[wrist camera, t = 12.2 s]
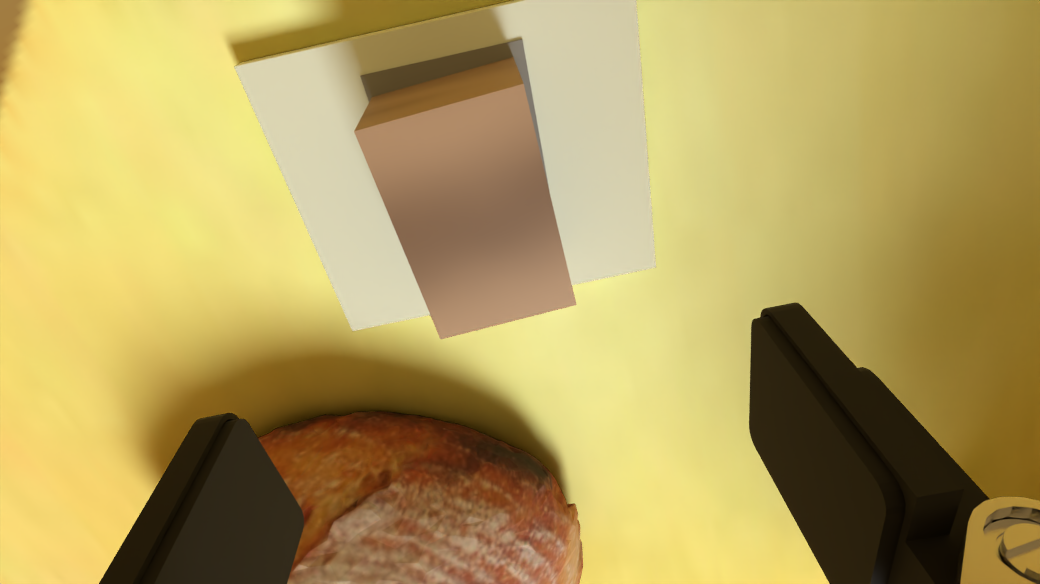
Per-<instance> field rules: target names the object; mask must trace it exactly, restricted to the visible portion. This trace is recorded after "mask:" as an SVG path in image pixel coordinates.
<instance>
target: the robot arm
mask: <svg viewBox="0 0 1040 584" xmlns="http://www.w3.org/2000/svg"><path fill="white" fill-rule="evenodd" d="M749 429H750V435H751V438H752V441H753V444H754V446H755V448H756V450H757V452H758V453H759V455H760V457H761V459H762V461H763V463H764V464H765V466H766V468H767V470H768V472H769V474H770V475H771V477H772V479H773V481H774V483H775V484H776V486H777V488H778V490H779V492H780V494H781V495H782V497H783V499H784V501H785V503H786V505H787V506H788V508H789V510H790V512H791V514H792V516H793V517H794V519H795V521H796V523H797V525H798V526H799V528H800V530H801V532H802V534H803V536H804V537H805V539H806V541H807V543H808V545H809V547H810V548H811V550H812V552H813V554H814V556H815V558H816V559H817V561H818V563H819V565H820V567H821V568H822V570H823V572H824V574H825V576H826V578H827V579H828V581H829V583H830V584H1040V501H1039V500H1034V499H1029V498H1024V497H998V498H994V499H989V498H988V497H987V496H986V495H985V494H984V493H983V491H982V490H981V489H980V488H979V487H978V486H977V485H976V484H975V483H974V482H973V481H972V479H971V478H970V477H969V476H968V475H967V474H966V473H965V472H964V471H963V470H962V469H961V467H960V466H959V465H958V464H957V463H956V462H955V461H954V460H953V459H952V458H951V457H950V455H949V454H948V453H947V452H946V451H945V450H944V449H943V448H942V447H941V446H940V445H939V443H938V442H937V441H936V440H935V439H934V438H933V437H932V436H931V435H930V434H929V433H928V431H927V430H926V429H925V428H924V427H923V426H922V425H921V424H920V423H919V422H918V421H917V419H916V418H915V417H914V416H913V415H912V414H911V413H910V412H909V411H908V410H907V409H906V407H905V406H904V405H903V404H902V403H901V402H900V401H899V400H898V399H897V398H896V397H895V395H894V394H893V393H892V392H891V391H890V390H889V389H888V388H887V387H886V386H885V385H884V383H883V382H882V381H881V380H880V379H879V378H878V377H877V376H876V375H875V374H874V373H873V372H871V371H870V370H869V369H866V368H863V367H861V368H857V367H856V366H855V365H854V364H853V363H852V362H851V361H850V360H849V358H848V357H847V356H846V355H845V354H844V353H843V352H842V351H841V349H840V348H839V347H838V346H837V345H836V344H835V343H834V342H833V340H832V339H831V338H830V337H829V336H828V335H827V334H826V333H825V331H824V330H823V329H822V328H821V327H820V326H819V325H818V324H817V322H816V321H815V320H814V319H813V318H812V317H811V316H810V315H809V313H808V312H807V311H806V310H805V309H804V308H803V307H802V306H801V305H800V304H799V303H791V304H786V305H781V306H775V307H770V308H765V309H763V310H762V312H761V317H760V318H757V319H754V320H753V321H752V326H751V369H750V413H749ZM303 528H304V515H303V511H302V509H301V507H300V506H299V504H298V502H297V501H296V499H295V498H294V496H293V494H292V493H291V491H290V490H289V488H288V486H287V485H286V483H285V481H284V480H283V478H282V477H281V475H280V473H279V472H278V470H277V468H276V467H275V465H274V464H273V462H272V460H271V459H270V457H269V456H268V454H267V452H266V451H265V449H264V447H263V446H262V444H261V443H260V441H259V439H258V438H257V436H256V435H255V433H254V431H253V430H252V428H251V426H250V425H249V423H248V422H247V421H246V420H244V419H239V418H238V417H237V416H236V415H235V414H233V413H226V414H221V415H216V416H211V417H206V418H201V419H199V420H197V421H196V422H195V423H194V424H193V425H192V427H191V429H190V430H189V432H188V434H187V436H186V437H185V439H184V441H183V442H182V444H181V446H180V447H179V449H178V451H177V452H176V454H175V456H174V458H173V459H172V461H171V463H170V464H169V466H168V468H167V469H166V471H165V473H164V474H163V476H162V478H161V480H160V481H159V483H158V485H157V486H156V488H155V490H154V491H153V493H152V495H151V496H150V498H149V500H148V502H147V503H146V505H145V507H144V508H143V510H142V512H141V513H140V515H139V517H138V518H137V520H136V522H135V524H134V525H133V527H132V529H131V530H130V532H129V534H128V535H127V537H126V539H125V540H124V542H123V544H122V546H121V547H120V549H119V551H118V552H117V554H116V556H115V557H114V559H113V561H112V562H111V564H110V566H109V567H108V569H107V571H106V573H105V574H104V576H103V578H102V579H101V581H100V583H99V584H287V582H288V579H289V575H290V572H291V569H292V565H293V562H294V559H295V555H296V552H297V549H298V545H299V542H300V539H301V535H302V532H303Z"/></svg>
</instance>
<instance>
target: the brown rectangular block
mask: <svg viewBox="0 0 1040 584" xmlns="http://www.w3.org/2000/svg"><path fill="white" fill-rule="evenodd" d="M354 133H355V135H356V138H357V140H358V142H359V145H360V147H361V150H362V152H363V154H364V157H365V159H366V162H367V164H368V166H369V169H370V171H371V174H372V176H373V178H374V181H375V183H376V186H377V188H378V190H379V193H380V195H381V198H382V200H383V202H384V205H385V207H386V210H387V212H388V214H389V217H390V219H391V222H392V224H393V226H394V229H395V231H396V234H397V236H398V238H399V241H400V243H401V246H402V248H403V250H404V253H405V255H406V258H407V260H408V262H409V265H410V267H411V270H412V272H413V274H414V277H415V279H416V282H417V284H418V286H419V289H420V291H421V293H422V296H423V298H424V301H425V303H426V305H427V308H428V310H429V313H430V315H431V317H432V320H433V322H434V325H435V327H436V329H437V332H438V334H439V337H440V339H444V338H448V337H452V336H456V335H460V334H464V333H467V332H471V331H475V330H479V329H483V328H487V327H491V326H495V325H499V324H503V323H507V322H511V321H515V320H518V319H522V318H526V317H530V316H534V315H538V314H542V313H546V312H550V311H554V310H558V309H562V308H566V307H569V306H573V305H576V301H575V297H574V293H573V288H572V284H571V280H570V276H569V272H568V267H567V263H566V259H565V255H564V251H563V247H562V242H561V238H560V234H559V230H558V226H557V221H556V217H555V213H554V209H553V205H552V200H551V196H550V192H549V188H548V184H547V180H546V175H545V171H544V167H543V163H542V159H541V154H540V150H539V146H538V142H537V138H536V133H535V129H534V125H533V121H532V117H531V113H530V108H529V104H528V100H527V96H526V92H525V87H524V83H523V81H522V78H521V76H520V73H519V70H518V68H517V65H516V63H515V60H514V57H511V58H508V59H504V60H501V61H497V62H494V63H490V64H487V65H483V66H480V67H476V68H473V69H469V70H465V71H462V72H458V73H455V74H451V75H448V76H444V77H441V78H437V79H434V80H430V81H427V82H423V83H420V84H416V85H413V86H409V87H406V88H402V89H399V90H395V91H392V92H388V93H385V94H381V95H378V96H374V97H372V98H371V100H370V102H369V104H368V106H367V108H366V109H365V111H364V113H363V115H362V117H361V119H360V121H359V123H358V125H357V127H356V128H355V130H354Z"/></svg>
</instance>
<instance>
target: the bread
mask: <svg viewBox="0 0 1040 584" xmlns="http://www.w3.org/2000/svg"><path fill="white" fill-rule="evenodd" d="M258 439H259V441H260V443H261V444H262V446H263V447H264V449H265V451H266V452H267V454H268V456H269V457H270V459H271V460H272V462H273V464H274V465H275V467H276V468H277V470H278V472H279V473H280V475H281V477H282V478H283V480H284V481H285V483H286V485H287V486H288V488H289V490H290V491H291V493H292V494H293V496H294V498H295V499H296V501H297V502H298V504H299V506H300V507H301V509H302V511H303V515H304V528H303V532H302V535H301V539H300V542H299V545H298V549H297V552H296V555H295V559H294V562H293V565H292V569H291V572H290V575H289V579H288V582H287V584H579V583H580V578H581V574H582V569H583V553H582V542H581V540H580V524H579V521H578V520H577V517H578V512H577V509H576V505H575V504H568V505H567V503H566V499H565V497H564V495H563V493H562V491H561V489H560V487H559V485H558V484H557V481H556V480H555V478H554V477H553V475H552V474H551V473H550V471H549V470H548V469H547V468H546V467H545V466H544V465H542V463H541V462H540V461H539V460H537V459H536V458H535V457H533V456H532V455H530V454H528V453H527V452H525V451H523V450H520V449H518V448H515V447H513V446H510V445H508V444H506V443H505V442H503V441H498V440H496V439H494V438H491V437H489V436H487V435H485V434H482V433H480V432H478V431H476V430H473V429H471V428H468V427H465V426H462V425H458V424H455V423H448V422H444V421H440V420H435V419H432V418H427V417H423V416H419V415H406V414H400V413H392V412H383V411H377V412H355V413H353V414H349V415H346V416H334V415H322V416H319V417H316V418H312V419H309V420H306V421H302V422H298V423H295V424H291V425H288V426H284V427H279V428H276V429H275V430H273V431H272V432H270V433H268V434H266V435H263V436H261V437H259V438H258Z"/></svg>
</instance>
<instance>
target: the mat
mask: <svg viewBox="0 0 1040 584" xmlns="http://www.w3.org/2000/svg"><path fill="white" fill-rule="evenodd" d="M511 57H514V60H515V63H516V65H517V68H518V70H519V73H520V76H521V78H522V81H523V83H524V87H525V92H526V96H527V100H528V104H529V108H530V113H531V117H532V121H533V125H534V129H535V133H536V138H537V142H538V146H539V150H540V154H541V159H542V163H543V167H544V171H545V175H546V180H547V184H548V188H549V192H550V196H551V200H552V205H553V209H554V213H555V217H556V221H557V226H558V230H559V234H560V238H561V242H562V247H563V251H564V255H565V259H566V263H567V267H568V272H569V276H570V280H571V284H572V285H575V284H580V283H584V282H589V281H594V280H599V279H603V278H608V277H613V276H618V275H622V274H627V273H632V272H637V271H641V270H646V269H651V268H656V261H655V247H654V233H653V220H652V206H651V193H650V179H649V166H648V152H647V139H646V125H645V111H644V98H643V84H642V71H641V57H640V44H639V30H638V17H637V3H636V0H513V1H509V2H504V3H500V4H495V5H491V6H487V7H482V8H478V9H474V10H469V11H465V12H460V13H456V14H452V15H447V16H443V17H438V18H434V19H430V20H425V21H421V22H417V23H412V24H408V25H403V26H399V27H395V28H390V29H386V30H381V31H377V32H373V33H368V34H364V35H360V36H355V37H351V38H346V39H342V40H338V41H333V42H329V43H324V44H320V45H316V46H311V47H307V48H302V49H298V50H294V51H289V52H285V53H281V54H276V55H272V56H267V57H263V58H259V59H254V60H250V61H245V62H241V63H239V64H238V65H236V66H234V68H235V70H236V72H237V74H238V76H239V79H240V81H241V83H242V85H243V88H244V90H245V92H246V94H247V97H248V99H249V101H250V103H251V106H252V108H253V110H254V112H255V114H256V117H257V119H258V121H259V123H260V126H261V128H262V130H263V132H264V135H265V137H266V139H267V141H268V144H269V146H270V148H271V150H272V152H273V155H274V157H275V159H276V161H277V164H278V166H279V168H280V170H281V173H282V175H283V177H284V179H285V181H286V184H287V186H288V188H289V190H290V193H291V195H292V197H293V199H294V202H295V204H296V206H297V208H298V211H299V213H300V215H301V217H302V219H303V222H304V224H305V226H306V228H307V231H308V233H309V235H310V237H311V240H312V242H313V244H314V246H315V249H316V251H317V253H318V255H319V257H320V260H321V262H322V264H323V266H324V269H325V271H326V273H327V275H328V278H329V280H330V282H331V284H332V287H333V289H334V291H335V293H336V295H337V298H338V300H339V302H340V304H341V307H342V309H343V311H344V313H345V316H346V318H347V320H348V322H349V325H350V327H351V329H352V331H356V330H361V329H366V328H370V327H375V326H380V325H385V324H389V323H394V322H399V321H404V320H408V319H413V318H418V317H423V316H427V315H430V313H429V310H428V308H427V305H426V303H425V301H424V298H423V296H422V293H421V291H420V289H419V286H418V284H417V282H416V279H415V277H414V274H413V272H412V270H411V267H410V265H409V262H408V260H407V258H406V255H405V253H404V250H403V248H402V246H401V243H400V241H399V238H398V236H397V234H396V231H395V229H394V226H393V224H392V222H391V219H390V217H389V214H388V212H387V210H386V207H385V205H384V202H383V200H382V198H381V195H380V193H379V190H378V188H377V186H376V183H375V181H374V178H373V176H372V174H371V171H370V169H369V166H368V164H367V162H366V159H365V157H364V154H363V152H362V150H361V147H360V145H359V142H358V140H357V138H356V135H355V133H354V130H355V128H356V127H357V125H358V123H359V121H360V119H361V117H362V115H363V113H364V111H365V109H366V108H367V106H368V104H369V102H370V100H371V98H372V97H374V96H378V95H381V94H385V93H388V92H392V91H395V90H399V89H402V88H406V87H409V86H413V85H416V84H420V83H423V82H427V81H430V80H434V79H437V78H441V77H444V76H448V75H451V74H455V73H458V72H462V71H465V70H469V69H473V68H476V67H480V66H483V65H487V64H490V63H494V62H497V61H501V60H504V59H508V58H511Z"/></svg>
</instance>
